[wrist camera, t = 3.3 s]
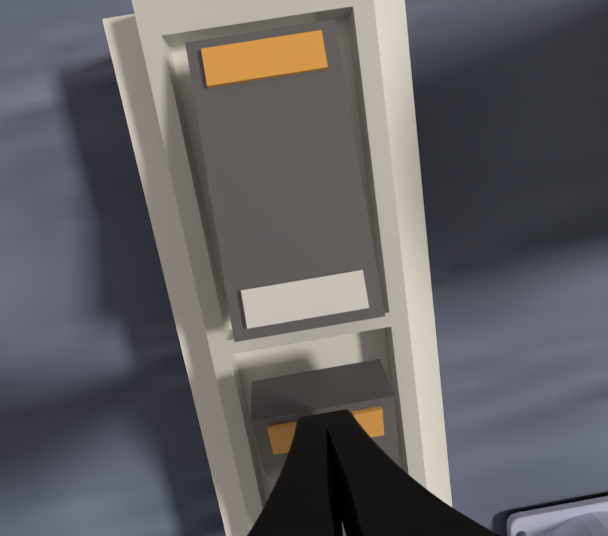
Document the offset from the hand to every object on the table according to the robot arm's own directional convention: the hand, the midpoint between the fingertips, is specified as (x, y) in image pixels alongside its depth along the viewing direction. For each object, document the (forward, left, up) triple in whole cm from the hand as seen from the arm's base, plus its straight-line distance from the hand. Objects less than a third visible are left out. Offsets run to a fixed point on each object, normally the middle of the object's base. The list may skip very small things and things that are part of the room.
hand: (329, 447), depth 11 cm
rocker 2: (-3, 0, -3) cm, 4 cm away
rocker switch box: (+5, 0, -7) cm, 9 cm away
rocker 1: (+7, 0, -3) cm, 7 cm away
